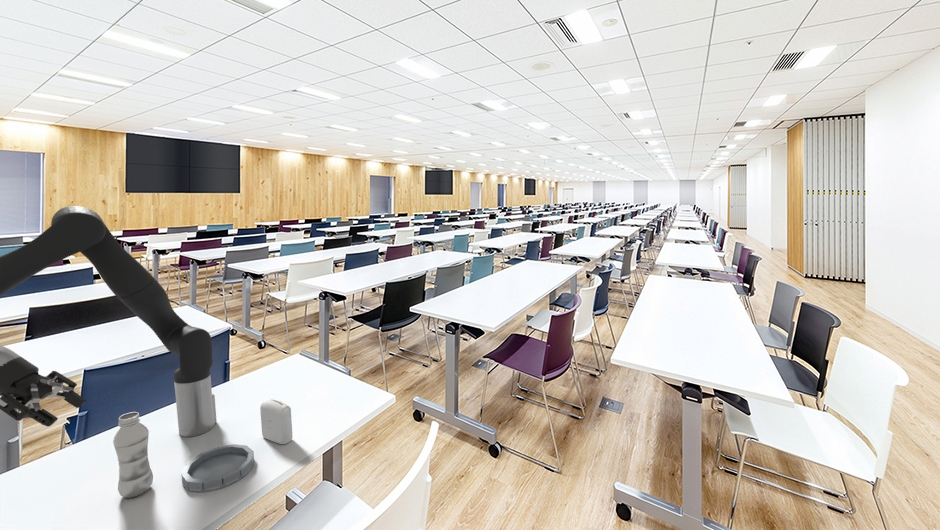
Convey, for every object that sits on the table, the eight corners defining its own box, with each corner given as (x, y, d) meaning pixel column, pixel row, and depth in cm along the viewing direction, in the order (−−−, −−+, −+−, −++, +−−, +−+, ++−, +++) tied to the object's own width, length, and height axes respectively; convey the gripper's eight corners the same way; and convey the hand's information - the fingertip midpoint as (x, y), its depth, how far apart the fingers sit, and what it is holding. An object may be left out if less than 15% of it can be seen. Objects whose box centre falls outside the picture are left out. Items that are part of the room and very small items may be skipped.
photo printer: (259, 437, 119) (257, 399, 117) (272, 430, 123) (270, 393, 121) (282, 447, 114) (280, 407, 113) (294, 439, 118) (293, 401, 117)
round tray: (215, 450, 112) (214, 442, 112) (266, 455, 111) (266, 447, 110) (166, 488, 97) (165, 479, 96) (224, 495, 95) (224, 486, 94)
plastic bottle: (111, 500, 93) (101, 422, 90) (139, 480, 99) (131, 407, 97) (134, 503, 92) (125, 424, 89) (161, 484, 98) (153, 410, 96)
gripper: (-18, 369, 79) (56, 417, 83) (41, 346, 93) (102, 388, 97) (-48, 396, 79) (29, 442, 83) (16, 369, 92) (79, 410, 96)
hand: (68, 413), depth 90 cm, fingers open, 8 cm apart
